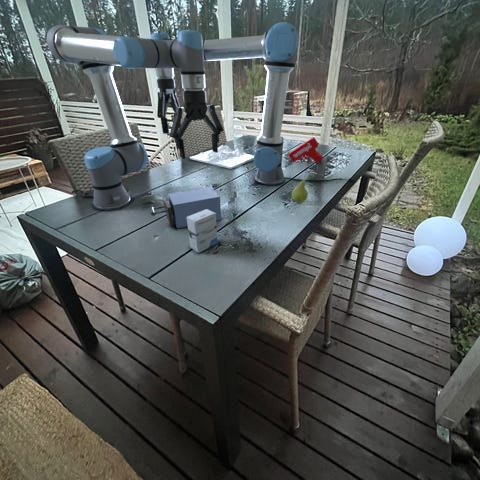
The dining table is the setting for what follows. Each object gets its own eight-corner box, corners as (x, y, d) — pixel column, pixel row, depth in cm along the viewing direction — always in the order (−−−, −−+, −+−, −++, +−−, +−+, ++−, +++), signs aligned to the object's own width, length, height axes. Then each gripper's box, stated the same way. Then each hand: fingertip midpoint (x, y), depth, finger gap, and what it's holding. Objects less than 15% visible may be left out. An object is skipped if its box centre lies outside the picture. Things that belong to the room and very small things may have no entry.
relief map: (231, 168, 161) (231, 160, 158) (189, 159, 179) (189, 151, 176) (257, 158, 179) (257, 150, 176) (217, 150, 197) (216, 142, 194)
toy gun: (326, 157, 168) (314, 136, 164) (326, 159, 164) (313, 137, 160) (301, 172, 178) (289, 153, 174) (300, 174, 174) (287, 154, 170)
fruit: (288, 200, 123) (290, 174, 116) (302, 197, 125) (305, 172, 119) (296, 206, 118) (299, 179, 111) (310, 203, 120) (314, 177, 114)
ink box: (209, 237, 96) (206, 207, 90) (218, 243, 93) (216, 212, 87) (189, 247, 91) (185, 216, 85) (198, 253, 88) (195, 221, 82)
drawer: (154, 229, 100) (150, 210, 96) (151, 218, 107) (147, 200, 103) (212, 218, 107) (211, 199, 103) (205, 208, 115) (203, 190, 110)
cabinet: (177, 228, 103) (173, 204, 97) (171, 216, 111) (167, 193, 106) (221, 219, 108) (220, 196, 103) (212, 208, 117) (211, 186, 111)
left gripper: (162, 92, 81) (172, 163, 92) (232, 88, 93) (232, 151, 104) (153, 90, 86) (163, 157, 97) (220, 87, 98) (222, 147, 109)
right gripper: (169, 77, 127) (175, 125, 139) (142, 79, 107) (152, 135, 118) (184, 77, 126) (189, 125, 137) (160, 79, 105) (168, 136, 117)
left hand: (199, 154), depth 101 cm, fingers open, 13 cm apart
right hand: (172, 130), depth 128 cm, fingers open, 13 cm apart
